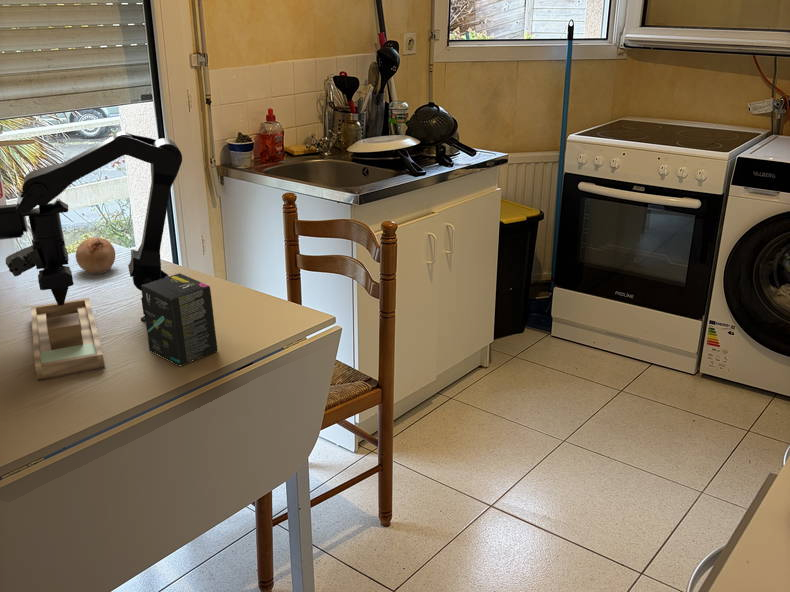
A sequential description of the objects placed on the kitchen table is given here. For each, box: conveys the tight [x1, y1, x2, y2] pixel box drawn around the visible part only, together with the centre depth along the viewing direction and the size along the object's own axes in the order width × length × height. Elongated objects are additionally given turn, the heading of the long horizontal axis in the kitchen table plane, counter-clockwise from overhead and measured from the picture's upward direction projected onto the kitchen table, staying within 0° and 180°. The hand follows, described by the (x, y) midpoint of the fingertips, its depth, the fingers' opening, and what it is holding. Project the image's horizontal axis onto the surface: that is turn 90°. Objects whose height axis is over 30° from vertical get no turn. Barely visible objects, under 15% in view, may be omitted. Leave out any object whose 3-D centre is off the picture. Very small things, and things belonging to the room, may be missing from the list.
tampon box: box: [140, 273, 219, 366], centre depth 155 cm, size 11×9×15 cm
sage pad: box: [40, 343, 96, 363], centre depth 152 cm, size 8×10×1 cm
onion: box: [75, 236, 116, 274], centre depth 196 cm, size 10×9×10 cm
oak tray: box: [30, 297, 106, 381], centre depth 160 cm, size 30×12×3 cm, turn 25°
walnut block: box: [46, 313, 83, 350], centre depth 157 cm, size 6×6×4 cm
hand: (60, 304), depth 163 cm, fingers closed
